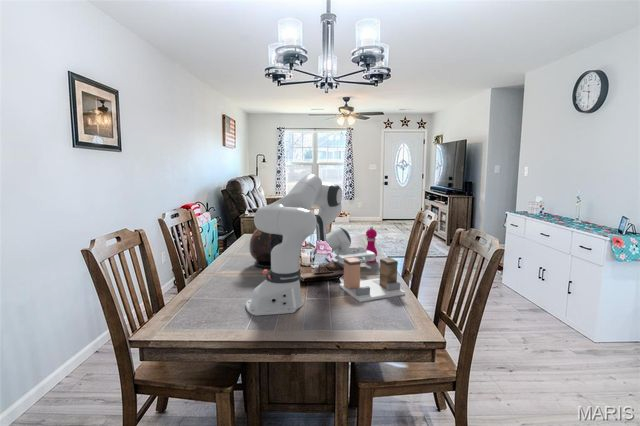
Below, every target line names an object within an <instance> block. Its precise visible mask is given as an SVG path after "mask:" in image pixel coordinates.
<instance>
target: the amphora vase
mask: <svg viewBox="0 0 640 426" xmlns="http://www.w3.org/2000/svg"><path fill="white" fill-rule="evenodd" d="M282 240H283V235H278V234H269V233H266V232H263V231H260V230H258V229H257V228H256V229H255V230H254V231H253V233H252V234H251V236H250V240H249V244H248V247H249V253H250V255H251V257H252V258H253V259H254V260H255V261H254V266H255V267H256V268H258V269H261V270H262V269H263V270H265V269H266V270H270V269H271V251H272V249H273V248H274V247H275V246H276V245H278V244H280V243H282Z"/></svg>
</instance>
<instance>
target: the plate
mask: <svg viewBox="0 0 640 426" xmlns="http://www.w3.org/2000/svg"><path fill="white" fill-rule="evenodd" d="M379 284H380V277H379V278H373V279H372V278H371V279H366V280H365V279H364V280H360V287H359V288H352V289H349V288H348V287H346V286H345V285H344V282H342V283H339V287H340V289H342V290H343V291H345V292H346V293H347V294H349V295H350V296H352V297H353V298H354V299H355V300H357V301H358V302H359V303H360V302H366V301H367V302H368V301H373V300H379V299H385V298H391V297H398V296H403V295H406V291H405V290H403V289H401V282H400V281H397V282H394V283H387V287H386V288H384V287H383V286H381V285H379Z"/></svg>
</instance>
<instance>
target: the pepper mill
mask: <svg viewBox="0 0 640 426" xmlns="http://www.w3.org/2000/svg"><path fill="white" fill-rule="evenodd" d="M377 234H378V233H377V231H376V229H374V227H373V226H370V227H369V229H367V230H366V232H365V236H366V241H367V245H366V247H365V248H366V250H369V251H372V252H373V253H375V260H374V261H366V263H369V264H372V263H376V262H377V256H378V250H377V248H376V245H375V243H376V241H377V239H376V237H377Z"/></svg>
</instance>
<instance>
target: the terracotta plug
mask: <svg viewBox="0 0 640 426" xmlns="http://www.w3.org/2000/svg"><path fill="white" fill-rule="evenodd" d="M361 265H362V263H361V262H360V260H358V259H356V258H354V257H353V258H344V264H343V283H344V285H345V286H346V287H348V288H349V289H352V288H359V287H360V281H361Z"/></svg>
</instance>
